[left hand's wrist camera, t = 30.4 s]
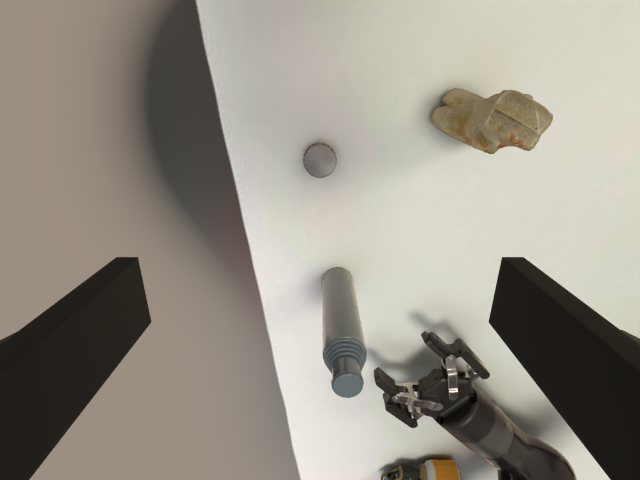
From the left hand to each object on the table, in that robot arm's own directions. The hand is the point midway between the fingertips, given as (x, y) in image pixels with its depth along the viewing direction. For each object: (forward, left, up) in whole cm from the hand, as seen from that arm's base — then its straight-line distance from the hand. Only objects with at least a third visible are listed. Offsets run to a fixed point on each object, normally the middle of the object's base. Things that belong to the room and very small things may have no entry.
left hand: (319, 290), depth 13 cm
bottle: (+17, 0, -33) cm, 37 cm away
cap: (0, 0, -31) cm, 31 cm away
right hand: (+26, +7, -27) cm, 38 cm away
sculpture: (-2, +17, -33) cm, 37 cm away
